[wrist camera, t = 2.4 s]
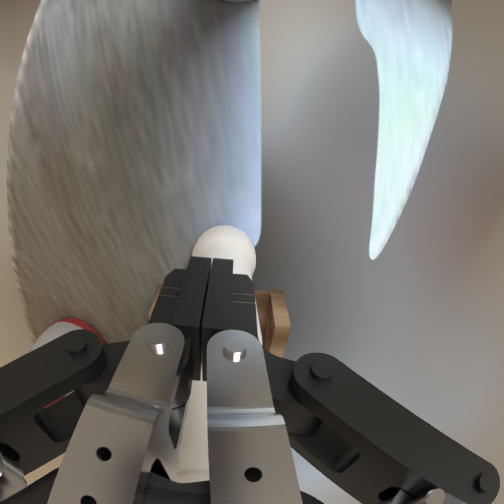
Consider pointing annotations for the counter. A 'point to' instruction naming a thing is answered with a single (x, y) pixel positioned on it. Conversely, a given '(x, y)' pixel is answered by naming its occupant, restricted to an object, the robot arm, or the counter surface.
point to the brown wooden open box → (266, 319)
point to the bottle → (195, 429)
